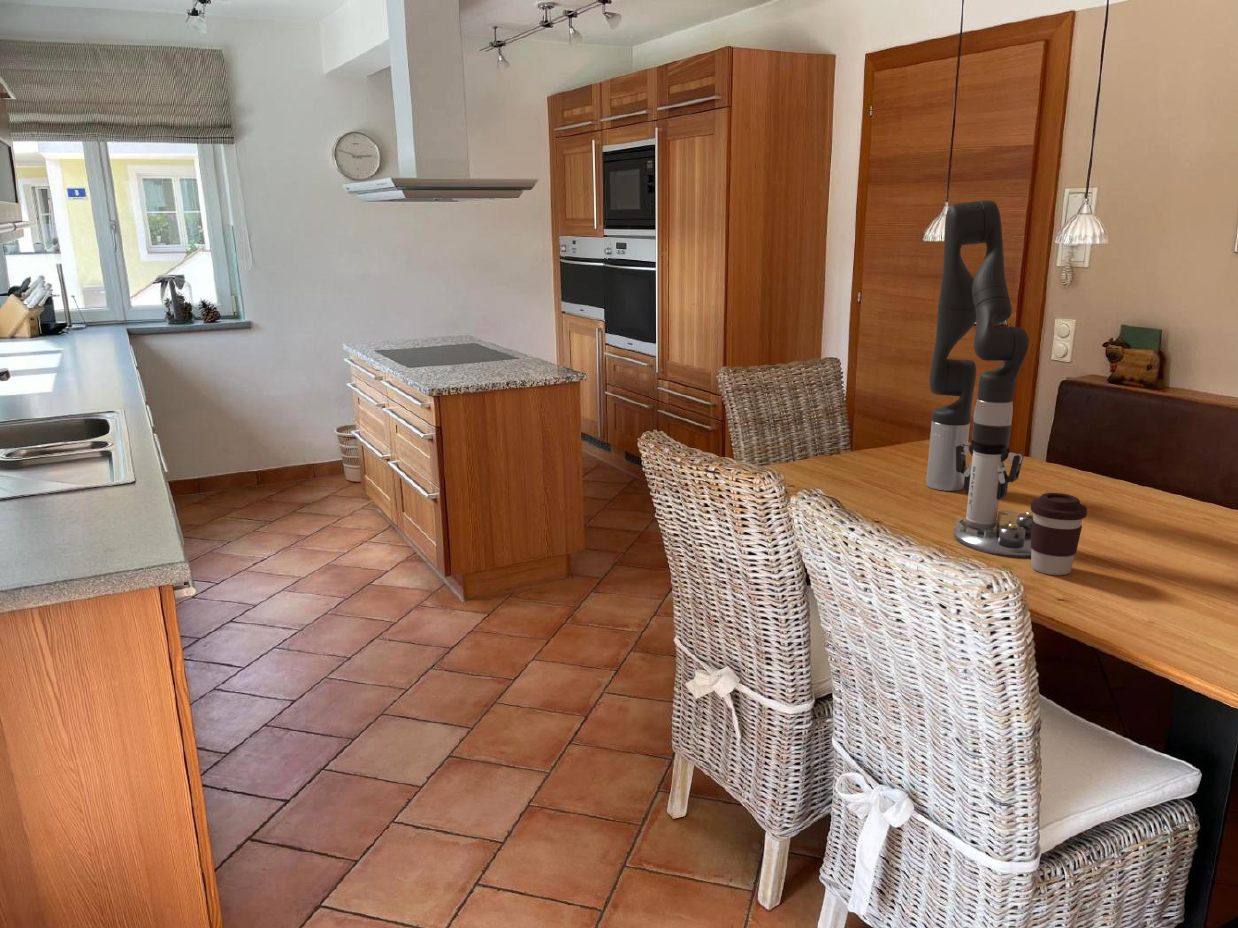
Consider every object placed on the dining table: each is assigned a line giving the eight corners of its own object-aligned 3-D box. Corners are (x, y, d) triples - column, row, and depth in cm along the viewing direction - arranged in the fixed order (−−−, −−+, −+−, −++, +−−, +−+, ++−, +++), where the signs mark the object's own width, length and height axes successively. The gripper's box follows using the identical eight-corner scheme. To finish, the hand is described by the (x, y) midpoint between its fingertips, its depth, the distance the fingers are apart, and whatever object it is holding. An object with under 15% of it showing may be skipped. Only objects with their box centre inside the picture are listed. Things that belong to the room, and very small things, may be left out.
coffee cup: (1015, 560, 184) (1024, 489, 180) (1064, 560, 184) (1074, 490, 180) (1035, 578, 174) (1045, 504, 170) (1087, 579, 174) (1098, 505, 170)
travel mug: (996, 521, 200) (1006, 434, 195) (995, 530, 194) (1005, 440, 189) (966, 518, 203) (976, 431, 197) (964, 526, 197) (973, 437, 191)
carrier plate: (975, 518, 210) (978, 492, 208) (1071, 539, 196) (1075, 512, 194) (936, 541, 195) (939, 513, 193) (1038, 565, 181) (1042, 536, 179)
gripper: (1033, 422, 190) (1024, 498, 195) (966, 413, 200) (958, 485, 204) (1020, 428, 185) (1011, 506, 189) (952, 418, 194) (944, 492, 199)
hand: (984, 495), depth 197 cm, fingers closed on travel mug, 6 cm apart
